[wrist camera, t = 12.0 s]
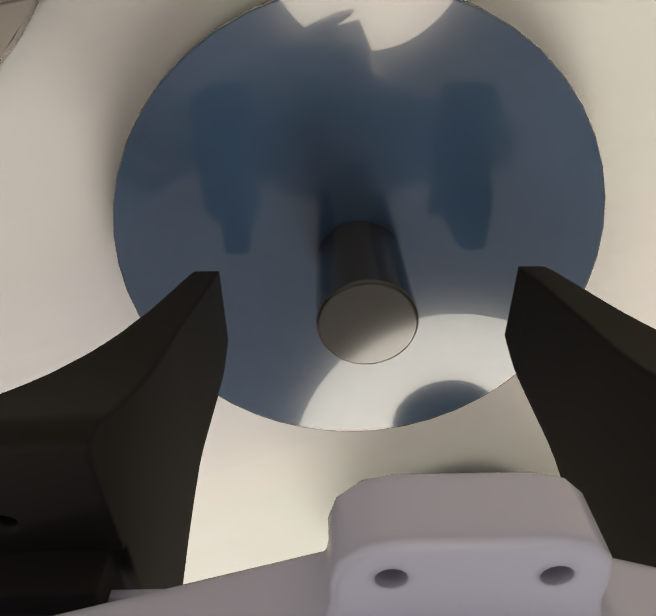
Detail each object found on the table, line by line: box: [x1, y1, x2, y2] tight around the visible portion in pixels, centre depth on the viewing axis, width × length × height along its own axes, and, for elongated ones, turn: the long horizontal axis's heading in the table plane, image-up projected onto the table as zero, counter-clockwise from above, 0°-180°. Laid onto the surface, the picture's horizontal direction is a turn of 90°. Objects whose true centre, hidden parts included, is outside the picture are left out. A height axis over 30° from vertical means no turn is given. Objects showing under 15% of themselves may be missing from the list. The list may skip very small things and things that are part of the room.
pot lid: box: [113, 0, 605, 431], centre depth 15 cm, size 13×13×4 cm
